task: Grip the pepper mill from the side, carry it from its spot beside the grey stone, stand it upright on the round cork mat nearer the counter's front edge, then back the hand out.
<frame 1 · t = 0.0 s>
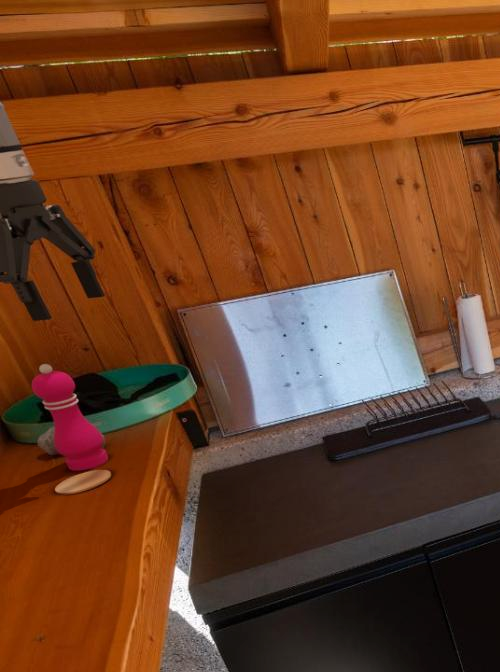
hand: (70, 308, 134), 29 cm above the worktop, tool pointing down, fingers open, 13 cm apart
stone: (77, 451, 151), on the worktop
cork mat: (84, 482, 138), on the worktop
pepper mill: (89, 464, 145), on the worktop
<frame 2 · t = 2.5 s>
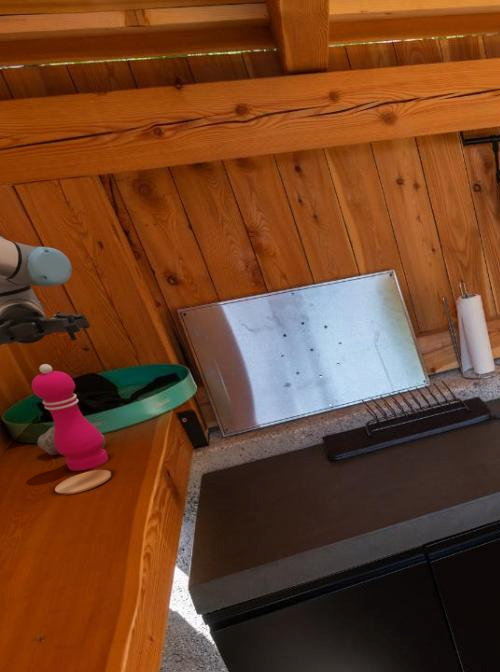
hand: (27, 343, 141), 22 cm above the worktop, tool horizontal, fingers open, 13 cm apart
nothing on the worktop moved.
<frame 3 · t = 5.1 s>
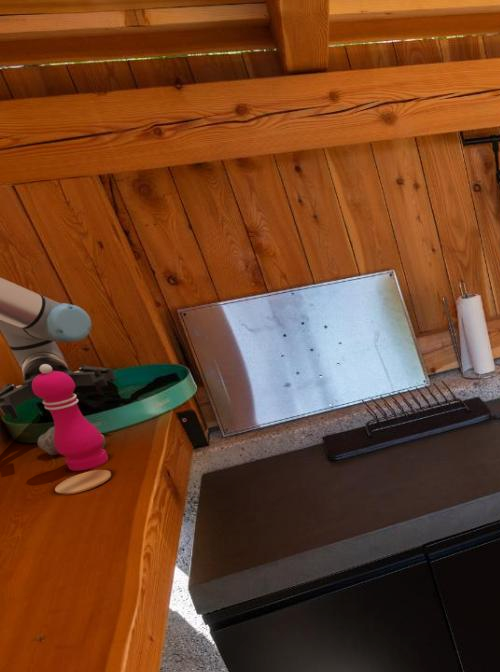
hand: (56, 399, 143), 12 cm above the worktop, tool horizontal, fingers open, 13 cm apart
nothing on the worktop moved.
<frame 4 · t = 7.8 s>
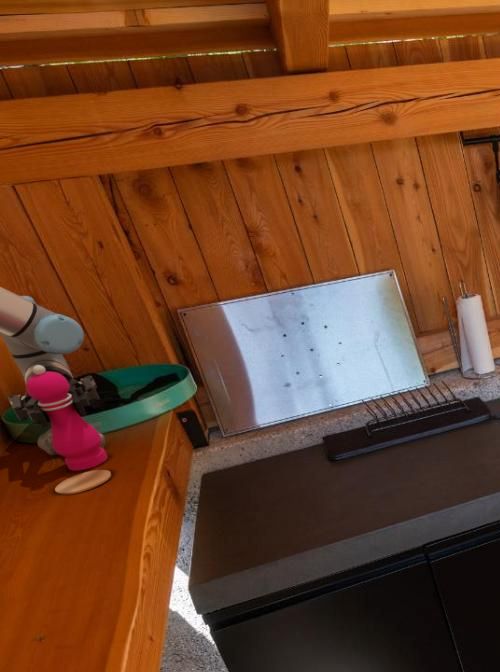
hand: (61, 414, 136), 12 cm above the worktop, tool horizontal, fingers closed on pepper mill, 5 cm apart
pepper mill: (89, 463, 145), on the worktop, touching gripper
everything else where it was.
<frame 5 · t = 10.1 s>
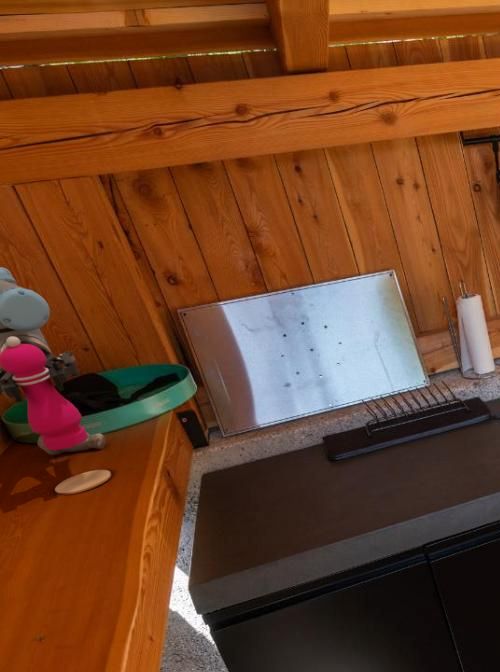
hand: (37, 388, 128), 19 cm above the worktop, tool horizontal, fingers closed on pepper mill, 5 cm apart
pepper mill: (68, 443, 137), point 7 cm above the worktop, touching gripper
everything else where it was.
when the fingers open (12 cm above the worktop, at t = 12.6 s): pepper mill stays where it is, resting on cork mat.
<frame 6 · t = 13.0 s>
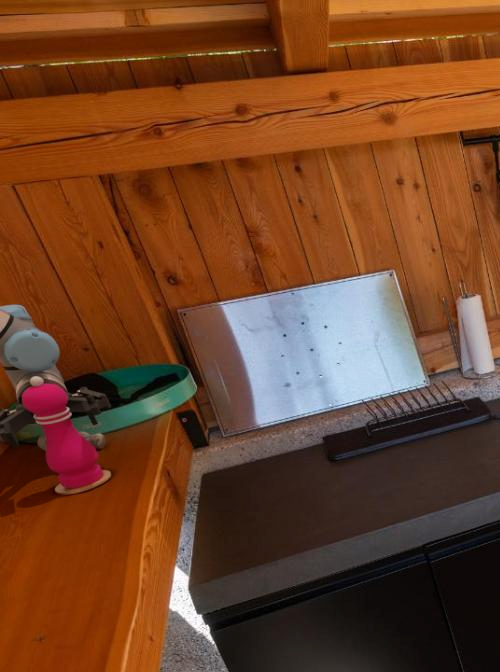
hand: (53, 428, 129), 12 cm above the worktop, tool horizontal, fingers open, 10 cm apart
pepper mill: (83, 480, 138), resting on cork mat
everything else where it was.
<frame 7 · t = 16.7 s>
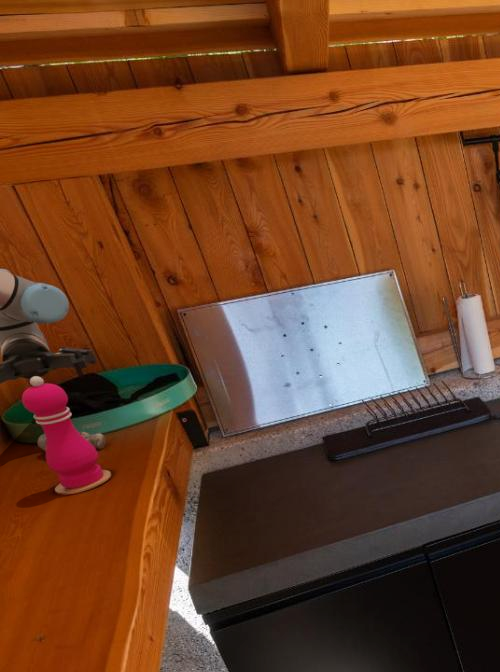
hand: (33, 381, 137), 17 cm above the worktop, tool horizontal, fingers open, 13 cm apart
nothing on the worktop moved.
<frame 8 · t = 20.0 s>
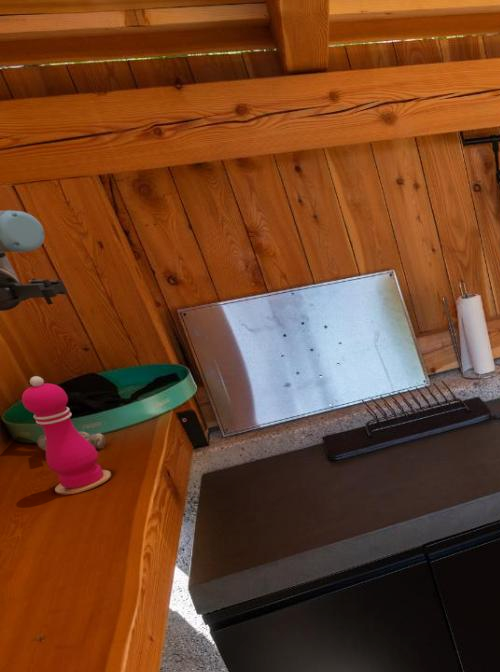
hand: (0, 306, 135), 30 cm above the worktop, tool horizontal, fingers open, 13 cm apart
nothing on the worktop moved.
at the end: pepper mill 0.1 cm from the target spot, resting on cork mat; pepper mill tilted 3°; the gripper is holding nothing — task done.
